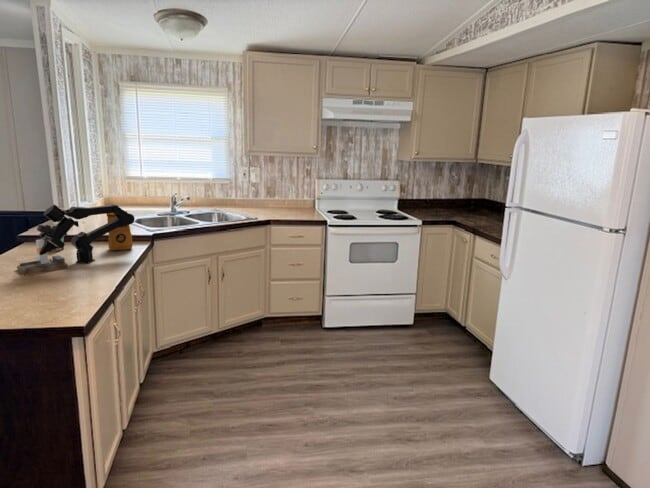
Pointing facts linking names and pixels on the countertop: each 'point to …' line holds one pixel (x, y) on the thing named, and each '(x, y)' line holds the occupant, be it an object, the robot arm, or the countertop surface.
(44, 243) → the sliding jaw
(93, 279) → the countertop surface
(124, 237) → the coffee package
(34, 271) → the base
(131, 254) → the countertop surface
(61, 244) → the robot arm
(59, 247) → the food container
